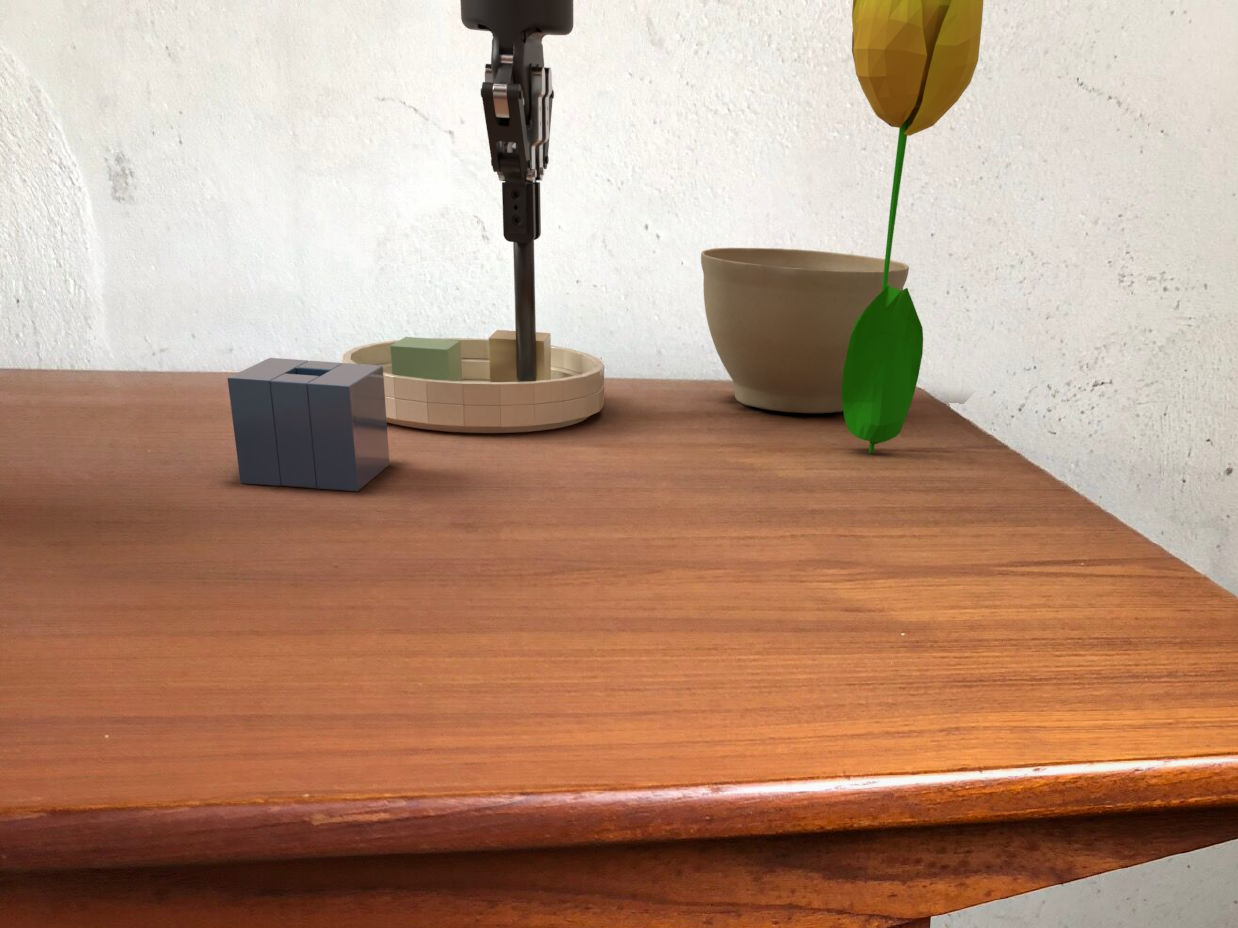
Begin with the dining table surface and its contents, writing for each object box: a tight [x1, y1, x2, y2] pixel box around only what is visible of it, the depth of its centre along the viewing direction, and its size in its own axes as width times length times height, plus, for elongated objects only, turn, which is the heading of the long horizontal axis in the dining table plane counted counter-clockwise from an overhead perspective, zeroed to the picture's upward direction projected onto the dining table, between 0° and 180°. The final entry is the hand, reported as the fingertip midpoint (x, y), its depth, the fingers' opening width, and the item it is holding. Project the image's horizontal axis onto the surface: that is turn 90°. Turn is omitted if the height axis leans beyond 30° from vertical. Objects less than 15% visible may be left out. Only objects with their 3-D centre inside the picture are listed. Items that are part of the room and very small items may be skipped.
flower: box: [842, 0, 984, 454], centre depth 94 cm, size 9×8×30 cm
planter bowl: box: [700, 247, 910, 414], centre depth 112 cm, size 16×16×11 cm
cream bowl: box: [341, 337, 605, 434], centre depth 107 cm, size 19×19×4 cm
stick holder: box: [227, 357, 391, 492], centre depth 87 cm, size 7×7×6 cm
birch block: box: [488, 329, 552, 382], centre depth 109 cm, size 4×4×4 cm
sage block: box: [390, 336, 462, 382], centre depth 104 cm, size 4×4×4 cm
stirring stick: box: [512, 183, 537, 382], centre depth 103 cm, size 2×2×15 cm
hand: (522, 239), depth 102 cm, fingers closed on stirring stick, 1 cm apart
